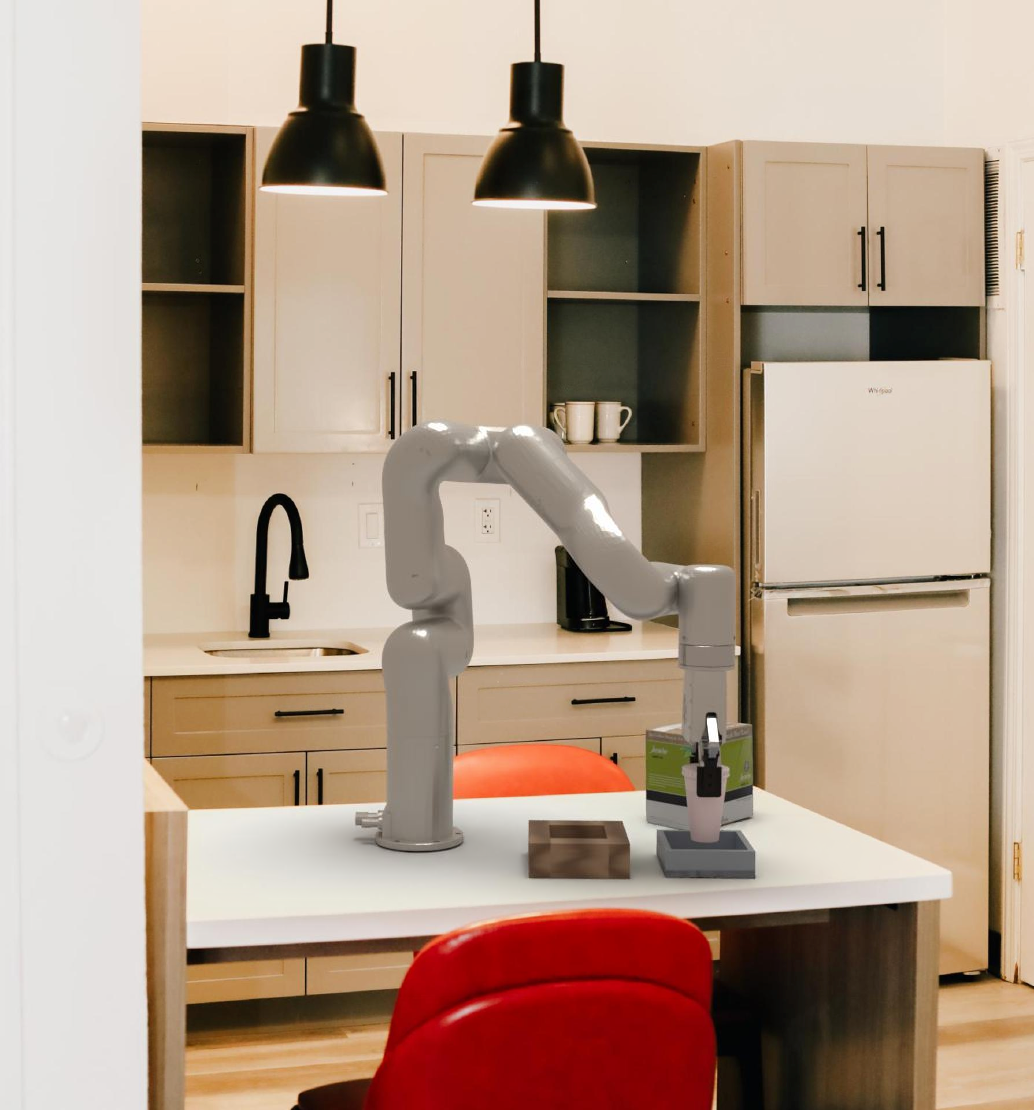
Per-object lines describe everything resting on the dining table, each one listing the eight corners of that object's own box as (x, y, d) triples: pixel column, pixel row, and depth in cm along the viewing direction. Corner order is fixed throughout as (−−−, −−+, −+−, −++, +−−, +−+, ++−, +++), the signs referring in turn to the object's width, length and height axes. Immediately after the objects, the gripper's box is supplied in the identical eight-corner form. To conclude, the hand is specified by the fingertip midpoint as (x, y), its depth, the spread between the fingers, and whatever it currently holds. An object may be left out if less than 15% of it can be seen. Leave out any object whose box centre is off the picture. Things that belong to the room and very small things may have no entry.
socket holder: (529, 877, 174) (529, 843, 174) (528, 852, 187) (528, 820, 187) (629, 878, 174) (630, 844, 174) (621, 853, 187) (622, 820, 187)
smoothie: (727, 846, 176) (729, 740, 176) (678, 843, 178) (679, 738, 177) (730, 835, 183) (731, 732, 182) (682, 832, 184) (683, 730, 183)
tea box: (702, 807, 216) (703, 716, 216) (754, 818, 209) (756, 723, 209) (643, 822, 205) (644, 726, 205) (696, 834, 198) (697, 734, 198)
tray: (665, 877, 174) (665, 850, 174) (656, 854, 186) (656, 829, 186) (755, 878, 174) (755, 851, 174) (740, 855, 186) (740, 830, 186)
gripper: (671, 650, 188) (669, 778, 188) (686, 664, 171) (685, 805, 171) (724, 650, 188) (723, 778, 188) (745, 665, 171) (744, 805, 171)
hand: (705, 790), depth 180 cm, fingers closed on smoothie, 6 cm apart
